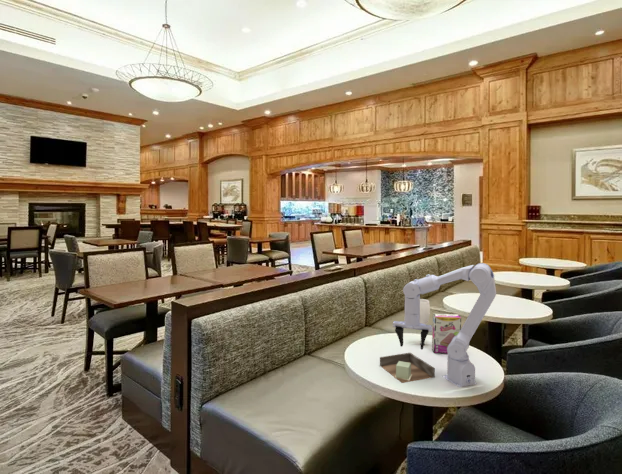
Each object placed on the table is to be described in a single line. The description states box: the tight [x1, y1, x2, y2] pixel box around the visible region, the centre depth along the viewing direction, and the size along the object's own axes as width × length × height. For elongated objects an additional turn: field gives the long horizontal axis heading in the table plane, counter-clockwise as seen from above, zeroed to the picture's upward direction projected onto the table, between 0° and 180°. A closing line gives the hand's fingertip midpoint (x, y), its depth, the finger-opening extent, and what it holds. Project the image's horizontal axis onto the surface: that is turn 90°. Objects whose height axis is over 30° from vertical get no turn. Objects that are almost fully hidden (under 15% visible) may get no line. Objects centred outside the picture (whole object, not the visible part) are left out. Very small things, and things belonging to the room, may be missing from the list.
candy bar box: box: [431, 313, 462, 354], centre depth 166 cm, size 11×5×16 cm, turn 84°
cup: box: [420, 298, 431, 325], centre depth 174 cm, size 7×7×21 cm
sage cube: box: [396, 361, 411, 379], centre depth 142 cm, size 4×4×4 cm
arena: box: [379, 352, 436, 384], centre depth 146 cm, size 16×14×4 cm
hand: (411, 347), depth 147 cm, fingers open, 7 cm apart
